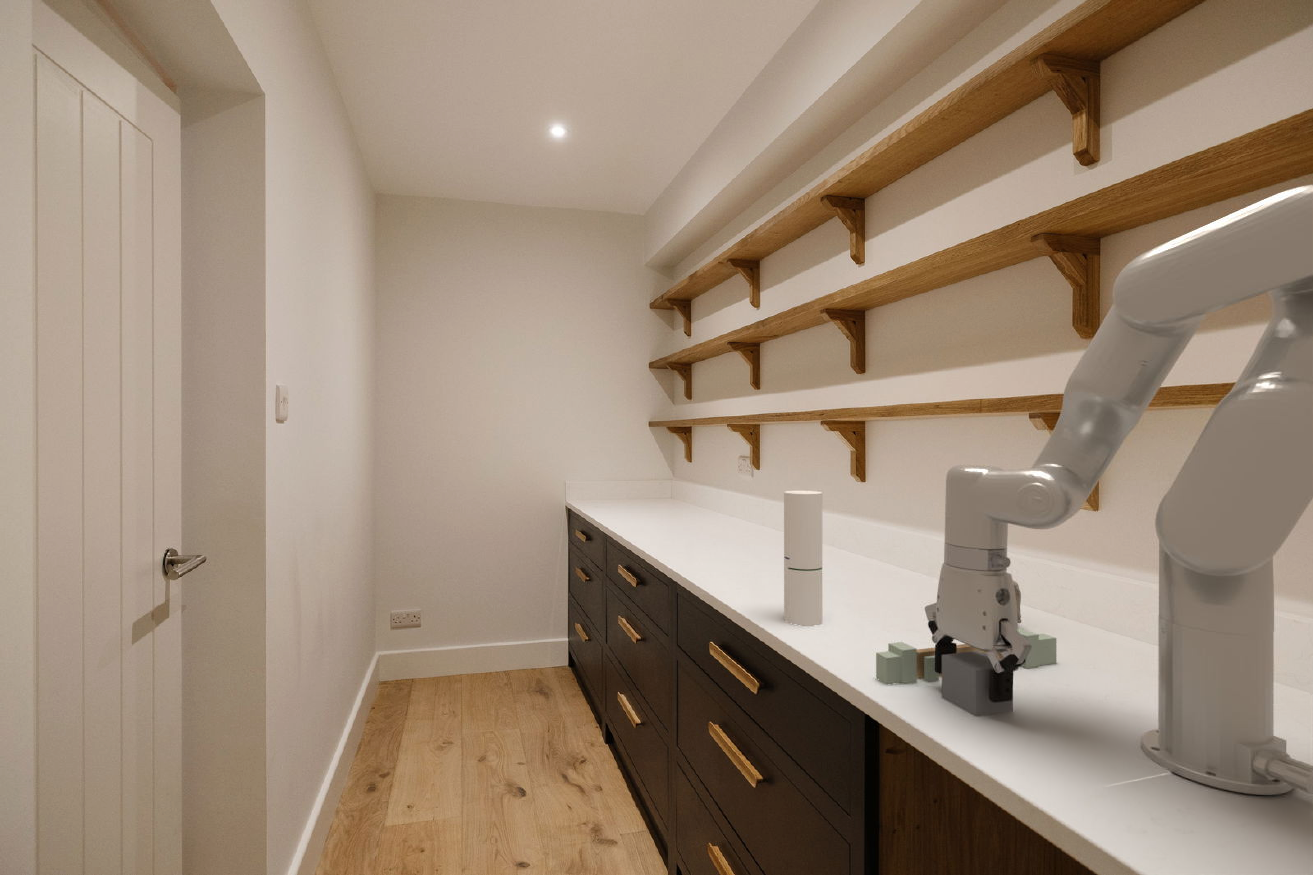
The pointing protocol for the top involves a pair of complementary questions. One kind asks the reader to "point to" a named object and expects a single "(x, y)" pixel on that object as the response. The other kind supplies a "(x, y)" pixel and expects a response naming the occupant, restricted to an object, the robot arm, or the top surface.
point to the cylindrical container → (803, 557)
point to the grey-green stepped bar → (903, 659)
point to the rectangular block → (970, 683)
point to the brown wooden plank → (931, 652)
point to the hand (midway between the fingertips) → (971, 685)
